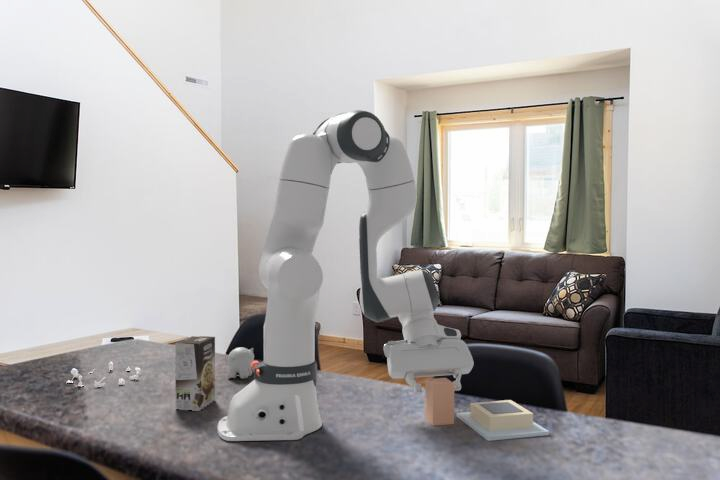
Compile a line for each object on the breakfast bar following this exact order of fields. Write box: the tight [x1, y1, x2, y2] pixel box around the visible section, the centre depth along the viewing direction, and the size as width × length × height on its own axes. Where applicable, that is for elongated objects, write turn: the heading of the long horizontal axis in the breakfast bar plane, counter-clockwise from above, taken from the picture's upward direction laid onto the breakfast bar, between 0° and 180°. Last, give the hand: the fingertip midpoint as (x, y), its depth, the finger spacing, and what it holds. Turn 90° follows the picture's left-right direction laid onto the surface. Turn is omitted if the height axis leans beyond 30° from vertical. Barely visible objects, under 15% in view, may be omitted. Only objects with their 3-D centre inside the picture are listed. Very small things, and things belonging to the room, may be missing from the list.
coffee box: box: [174, 335, 216, 412], centre depth 150 cm, size 9×6×16 cm
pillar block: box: [424, 377, 455, 427], centre depth 138 cm, size 5×5×9 cm
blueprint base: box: [456, 399, 550, 442], centre depth 136 cm, size 14×16×4 cm
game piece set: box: [66, 361, 141, 387], centre depth 174 cm, size 19×20×4 cm
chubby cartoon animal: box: [226, 346, 255, 380], centre depth 178 cm, size 7×12×8 cm, turn 166°
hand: (438, 391), depth 139 cm, fingers open, 8 cm apart
